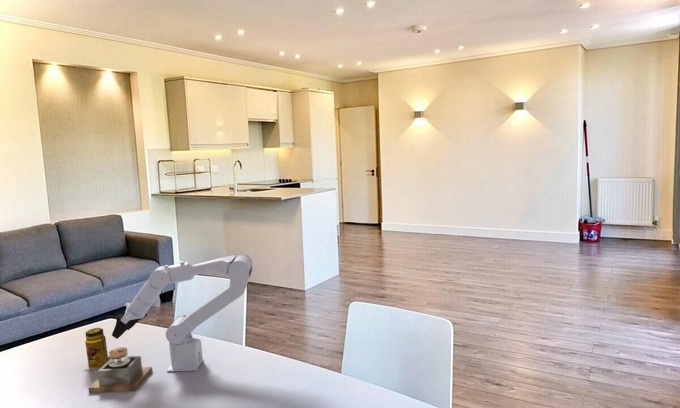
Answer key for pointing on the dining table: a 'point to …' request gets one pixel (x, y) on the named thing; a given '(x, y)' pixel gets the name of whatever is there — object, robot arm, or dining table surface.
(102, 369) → the base
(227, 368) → the dining table surface
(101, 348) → the condiment
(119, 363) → the plunger
